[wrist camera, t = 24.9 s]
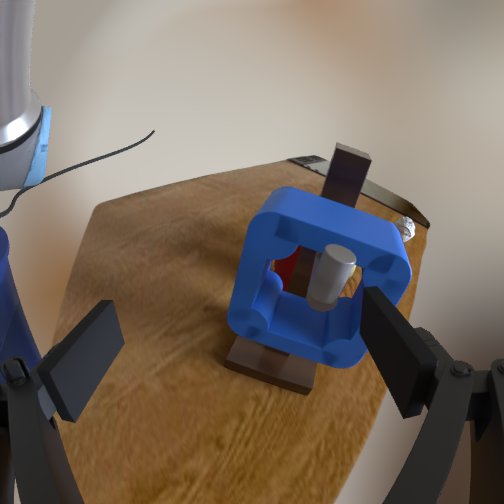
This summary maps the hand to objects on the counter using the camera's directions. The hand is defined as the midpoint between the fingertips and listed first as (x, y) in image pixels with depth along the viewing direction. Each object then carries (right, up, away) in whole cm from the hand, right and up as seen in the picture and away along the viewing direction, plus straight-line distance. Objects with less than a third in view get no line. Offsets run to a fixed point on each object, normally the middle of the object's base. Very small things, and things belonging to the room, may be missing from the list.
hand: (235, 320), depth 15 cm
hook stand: (+3, -11, +18) cm, 21 cm away
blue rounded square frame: (+4, -3, +8) cm, 10 cm away
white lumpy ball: (+39, +6, +59) cm, 71 cm away
